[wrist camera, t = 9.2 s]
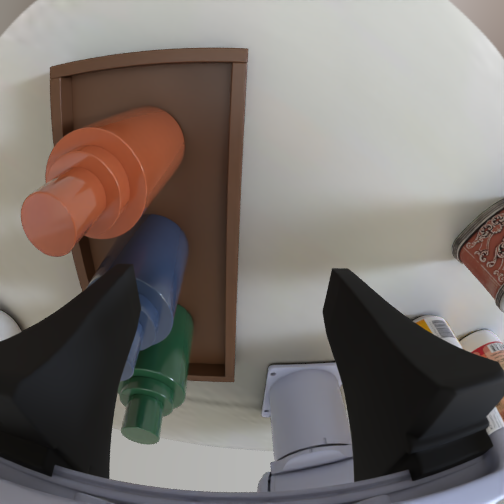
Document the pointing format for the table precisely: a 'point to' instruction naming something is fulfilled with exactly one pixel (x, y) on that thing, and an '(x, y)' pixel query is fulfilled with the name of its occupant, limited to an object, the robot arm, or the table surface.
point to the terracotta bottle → (103, 179)
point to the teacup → (7, 326)
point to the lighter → (485, 250)
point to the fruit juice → (486, 355)
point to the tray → (177, 172)
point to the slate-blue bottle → (151, 277)
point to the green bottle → (157, 382)
